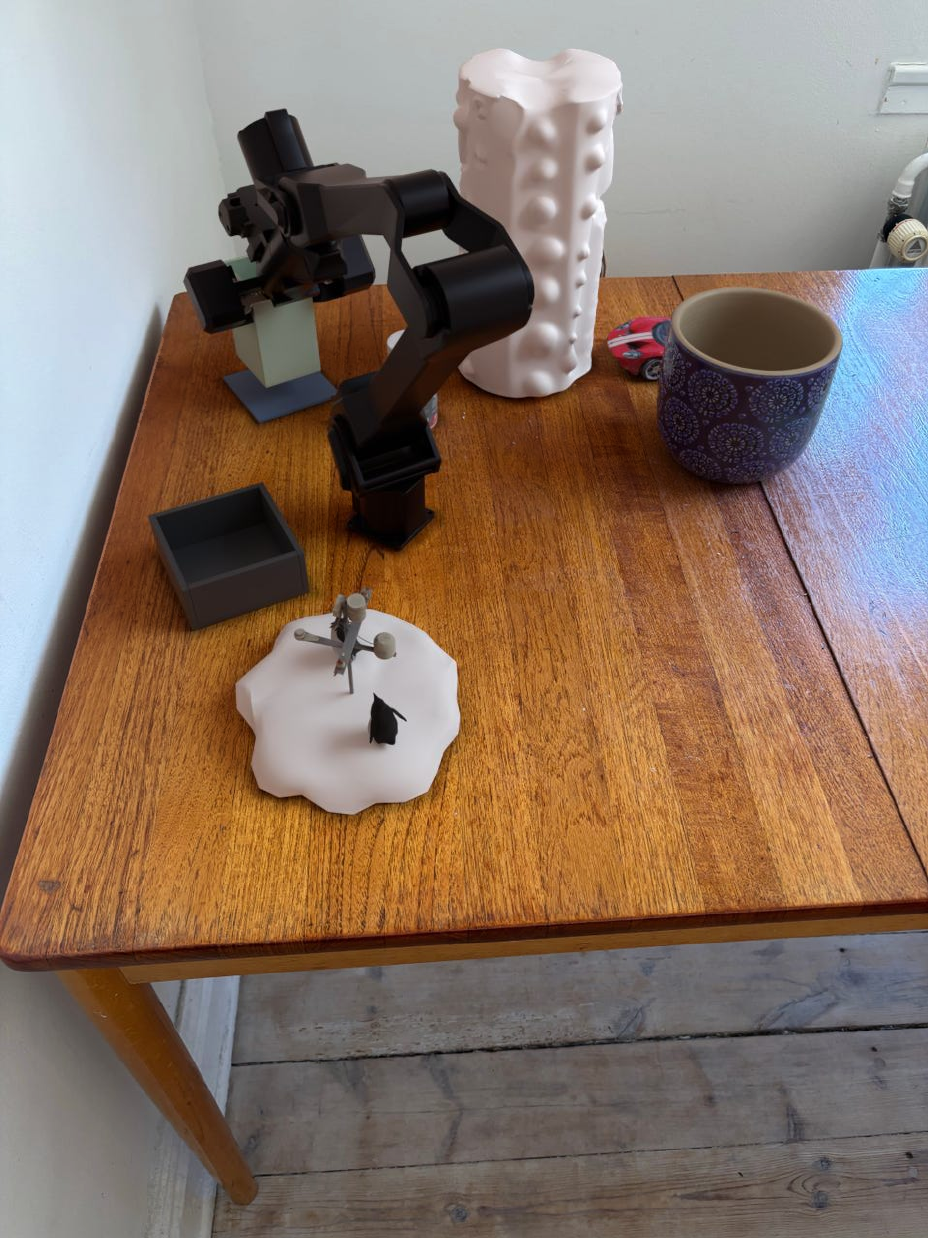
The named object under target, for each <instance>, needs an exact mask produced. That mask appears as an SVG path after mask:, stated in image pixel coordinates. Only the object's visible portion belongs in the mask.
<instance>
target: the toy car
mask: <svg viewBox="0 0 928 1238" xmlns="http://www.w3.org/2000/svg"><path fill="white" fill-rule="evenodd" d="M670 319H671V317H663V316H638V317H635V318H633V319H630V320H628V321H625V322H624V323H622V324H619V325H617V326H616V327H615V328H613V329H612V330H611V331H610V332H609V333H608V335H607V338H606V344H607V347H608V351H609V352H610V354H611V355H612V356H613V357H614V358H615V360H616V362H617V364H618V366H619V368H621V369H622V370H626V371H629V372H630V374H631V375H635V376H638V375H641V376H642V377H643V378H644V379H645V380H646V381H653V380H654V381H657V380H659V377H660V371H661V364H662V357H663V352H664V347H665V341H666V336H667V331H668V327H669V323H670Z"/></svg>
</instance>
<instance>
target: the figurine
mask: <svg viewBox="0 0 928 1238" xmlns="http://www.w3.org/2000/svg"><path fill="white" fill-rule="evenodd" d="M372 593H373V590H372V589H370V587H369V586H367V587H366V588H364V587H363V588H362V589H361V592H359V591H355V592H354V593H351V594H350V595H348V597H346V594H341V593H338V594H337V597H336V600H335V602H334V605H333V608H332V612H330V613H325V614H319V615H310V616H303V617H301V618H297V619H294V620H292V621H289V622H288V623H286V624H285V625H284V626H283V627H282V629H281V631H280V632H279V634H278V635H277V637H276V638H275V642H274V645H273V647H272V649H271V652H269V653H268V654H267V655H266V656H264V658H262V659H261V660H260V661H259V662H258V663H257V664H256V665H254V666H253V667H252V668H251V669H249V671H247V672H246V673H245V674H244V675H243V676H242V677H241V678H240V679H239V680H238V681H237V682H235V703H236V706H235V707H236V710H237V711H238V712H239V714H240V715H241V716H242V718H243V719H244V720H245V721H246V723H247V724H248V725H249V727H250V728H251V729H252V731H253V734H254V736H255V742H254V747H253V753H252V758H251V763H250V766H251V769H252V772H253V774H254V777H255V780H256V783H257V786H258V788H259V789H260V790H263V791H265V792H266V793H269V794H271V795H273V796H275V797H277V798H285V797H293V796H303V797H305V798H306V799H307V800H309V801H310V802H312V803H313V804H315V805H316V806H318V807H320V808H322V810H325V812H328V813H334V814H344V815H352V816H353V815H356V814H358V813H360V812H362V811H363V810H366V809H367V808H369V807H371V806H373V805H375V804H383V803H385V804H386V803H389V804H390V803H407V802H408V801H411V800H413V799H415V798H418V797H420V796H421V795H424V794H426V793H428V792H429V790H430V788H431V786H432V784H433V782H434V779H435V777H436V776H437V774H438V771H439V768H440V764H441V763H442V762H441V761H442V759H443V756H444V753H445V751H446V750H447V748H448V747H449V746H450V745H451V743H452V742H453V741H454V740H455V738H456V737H457V736H458V734H459V731H460V723H461V713H460V708H459V703H458V685H459V684H458V680H459V678H458V666H457V661H455V660H454V659H453V658H452V657H451V656H450V655H449V654H448V653H446V651H444V650H443V649H442V648H441V647H440V646H439V645H438V643H436V642H435V641H434V640H433V638H431V637H430V635H428V632H426V631H424V630H423V629H421V628H419V627H418V626H416V625H414V624H412V623H410V622H408V621H406V620H403V619H401V618H399V617H397V616H394V615H392V614H388V613H385V612H382V611H379V610H376V609H372V608H371V609H370V608H368V605H369V602H370V599H371V596H372Z"/></svg>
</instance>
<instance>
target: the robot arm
mask: <svg viewBox="0 0 928 1238" xmlns="http://www.w3.org/2000/svg"><path fill="white" fill-rule="evenodd" d="M236 140H237V143H238V145H239V147H240V148H239V149H240V150H241V153H242V156H243V158H244V161H245V164H246V167H247V169H248V172H249V175H250V178H251V180H252V183H253V184H248V185H244V186H240V187H238V188H237V189H236V190H235V192H234V191H233V192H230V193H227V195H226V196H227V197H226V198H222V199H221V201H220V202H219V204H218V205H217V206H218V210H217V215H218V219H219V222H220V223H221V225H222V227H223V229H224V231H225V232H226V234H227V236H228V237H230V238H231V237H232V238H233V237H236V236H238V237H240V239H246V240H247V242H248V245H247V248H246V250H245V252H246V255H248V257H249V260H250V262H251V263H252V262H256V265H257V267H256V277H254V278H250V279H246V280H243V281H241V280H240V281H237V278H236V276H235V273H234V271H233V268H232V266H231V265H230V266H227V265H226V264H225V263H224V262H223V261H224V260H223V259H221V258H220V259H217V260H212V261H209V262H208V261H207V262H205V263H201V264H198V265H194V266H190V267H188V268H187V270H186V272H185V275H184V277H183V280H182V283H183V285H184V287H185V290H186V293H187V295H188V297H189V299H190V302H191V305H192V307H193V309H194V311H195V315H196V316H197V319H198V321H199V324H200V327H201V328H202V331H203V332H205V333H207V334H209V335H210V336H211V335H215V334H218V333H223V332H225V331H228V330H232V329H234V328H238V327H241V326H245V325H248V324H252V323H254V320H253V317H252V315H251V312H250V310H251V306H252V305H255V304H259V303H262V302H266V301H269V300H271V302H272V304H273V306H274V308H276V307H280V306H283V305H287V304H290V303H294V302H297V301H301V300H304V299H308V298H311V297H312V299H313V304H316V303H317V304H318V303H327V302H330V301H334V300H338V299H341V298H344V297H347V296H349V295H353V294H356V293H360V292H364V291H366V290H367V291H368V290H369V289H370V288H371V287H372V286H373V284H374V283H375V281H376V277H377V275H376V268H375V265H374V263H373V261H372V258H371V255H370V253H369V250H368V247H367V245H366V242H365V240H364V237H363V236H382V237H383V239H384V240H385V242H386V244H387V246H388V247H389V250H390V251H389V259H388V269H387V270H388V271H387V279H386V287H387V291H388V293H389V294H390V296H391V298H392V300H393V301H394V303H395V305H396V307H397V309H398V310H399V312H400V314H401V316H402V317H403V319H404V321H405V323H406V327H405V328H404V329H403V330H404V332H403V333H402V335H401V336H400V338H399V340H398V341H397V343H396V344H395V346H394V347H393V349H392V350H391V352H390V354H389V355H388V354H387V356H386V357H385V359H386V360H385V359H384V362H383V363H382V364H381V366H380V368H379V369H377V370H374V371H371V372H367V373H363V374H360V375H356V376H353V377H350V378H346V379H343V380H342V381H341V382H340V383H339V384H338V387H337V389H336V390H337V393H336V394H335V395H331V397H332V400H331V401H333V404H332V405H331V408H330V416H329V417H328V418H327V426H326V431H327V435H326V438H327V441H328V444H329V448H330V451H331V453H332V457H333V461H334V466H335V468H336V470H337V473H338V480H339V487H340V489H341V490H342V491H346V492H349V493H350V495H351V504H352V505H351V506H352V512H353V513H355V514H353V515H352V516H351V517H350V518H349V519H348V520H346V522H345V526H346V529H347V530H349V531H352V532H354V533H356V534H358V535H360V536H362V537H364V538H367V539H369V540H371V541H373V542H374V543H377V544H379V545H382V546H384V547H385V548H388V549H390V550H393V551H395V552H400V551H402V550H403V549H404V548H405V547H406V546H407V545H408V544H409V543H410V542H411V541H412V540H413V539H414V538H416V536H417V535H418V534H419V533H421V532H422V531H423V529H425V528H426V527H427V525H429V524H430V523H431V522H432V521H433V520H434V519H435V517H436V513H435V511H434V510H433V509H430V508H428V507H426V476H428V475H431V474H433V475H434V474H437V473H439V472H440V468H441V465H442V461H443V460H442V456H441V454H440V452H439V448H438V446H437V443H436V439H435V437H434V435H433V431H432V429H430V426H429V423H428V420H427V418H426V415H425V412H424V409H423V408H424V407H425V406H426V405H427V403H428V402H429V401H430V400H431V399H432V398H433V396H434V395H435V394H436V393H437V394H438V392H439V390H441V388H442V387H443V385H445V383H446V382H447V381H448V380H449V379H450V377H451V376H452V375H453V374H454V373H455V372H456V370H457V369H459V368H458V367H459V365H460V364H461V363H462V362H463V361H464V359H465V358H466V357H467V356H468V355H469V353H471V352H472V351H474V350H477V349H479V348H482V347H484V346H487V345H489V344H491V343H494V342H496V341H499V340H501V339H503V338H506V337H508V336H509V335H511V334H513V333H515V332H517V331H518V330H520V329H522V328H523V327H525V326H526V325H527V323H528V321H529V319H530V316H531V313H532V305H533V302H534V297H535V289H534V282H533V278H532V274H531V272H530V270H529V268H528V266H527V264H526V262H525V261H524V259H523V258H522V256H521V254H520V253H519V251H518V249H517V248H516V246H515V244H514V243H513V241H512V239H511V238H510V236H509V234H508V233H507V231H506V229H505V228H504V226H503V225H502V224H501V223H500V222H498V221H497V220H495V219H494V218H492V217H491V216H489V215H488V214H486V213H485V212H483V211H482V210H480V209H479V208H477V207H476V206H474V205H473V204H471V203H470V202H468V201H467V200H465V199H464V198H462V197H461V196H460V191H458V189H457V187H456V186H455V184H454V182H453V181H452V179H451V177H450V176H449V175H448V174H447V173H446V172H444V171H442V170H438V171H437V170H436V169H433V168H429V169H424V170H419V171H415V172H411V173H410V172H409V173H405V174H397V175H386V176H384V175H383V176H371V177H367V173H366V170H365V169H363V168H362V167H359V166H357V165H354V164H351V163H342V164H340V163H338V162H331V163H326V164H318V165H315V163H314V162H313V158H312V156H311V153H310V151H309V148H308V145H307V143H306V140H305V136H304V134H303V131H302V128H301V125H300V123H299V120H298V118H297V117H296V116H295V115H292V114H289V112H288V109H287V108H286V107H285V108H284V107H283V108H278V109H274V110H273V109H272V110H268V111H265V112H264V115H263V117H261V118H259V119H256V120H254V121H253V122H251V123H250V124H248V125H246V126H245V127H244V128H243V129H241V130H239V131H238V132H237V134H236ZM436 231H437V232H438V231H442V233H443V234H444V236H445V237H447V239H448V240H450V241H451V242H453V243H454V244H456V245H457V246H458V247H459V246H460V247H462V248H463V249H465V250H466V251H468V253H464V254H460V255H458V254H455V255H453V256H449V257H445V258H441V259H437V260H433V261H429V262H426V263H421V264H417V265H414V266H413V267H411V264H410V263H409V261H408V260H407V258H406V255H405V253H403V250H402V249H403V248H402V247H403V240H404V239H408V238H409V239H410V238H412V237H417V236H420V235H421V236H422V235H425V234H429V233H432V232H436ZM259 291H261V292H260V293H259ZM262 291H263V292H264V293H263V292H262ZM256 292H257V295H256V294H255V293H256ZM252 293H253V296H252V295H251V294H252ZM248 294H250V295H249V296H248Z"/></svg>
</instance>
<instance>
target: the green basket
mask: <svg viewBox="0 0 928 1238" xmlns="http://www.w3.org/2000/svg"><path fill="white" fill-rule="evenodd" d="M222 261H223V262H224V263H225V264H226V265H227V266H230V265H231V266H232V268H233V271H234V273H235V276H236V278H237V281H240V280H241V281H243V280H246V279H250V278H254V277H256V267H257V265H256V262H252V263H251V262H250V260H249V257H248V255H247V254H246V255H242V256H239V257H234V258H231V259H226V260H222ZM260 292H261V291H259V293H260ZM262 292H263V291H262ZM263 293H264V292H263ZM255 294H256V295H257V292H256V293H255ZM249 295H250V294H248V296H249ZM251 295H252V296H253V293H252V294H251ZM250 312H251V315H252V317H253V320H254V323H252V324H248V325H245V326H241V327H238V328H234V329H231V332H232V337H233V342H234V348H235V354H236V356H237V358H238V359H240V361H241V362H242V364H244V365H245V366H246V367H247V369H250V371H251V372H252V373H253V374H254V375H255V376H256V377H257V378H258V379H259V381H260V382H261V383H262V384H263V385H264V386H265V387H266V388H268V387H271V386H274V385H277V384H280V383H283V382H286V381H290V380H293V379H296V378H299V377H302V376H305V375H308V374H312V373H315V372H318V371H319V372H321V371H322V369H321V361H320V352H319V351H320V350H319V343H318V335H317V334H318V333H317V326H316V325H317V324H316V318H315V317H316V316H315V309H314V303H313V299H312V297H311V298H308V299H304V300H301V301H297V302H294V303H290V304H287V305H283V306H280V307H276V308H274V306H273V304H272V302H271V300H269V301H266V302H262V303H259V304H255V305H252V306H251V310H250Z"/></svg>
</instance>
